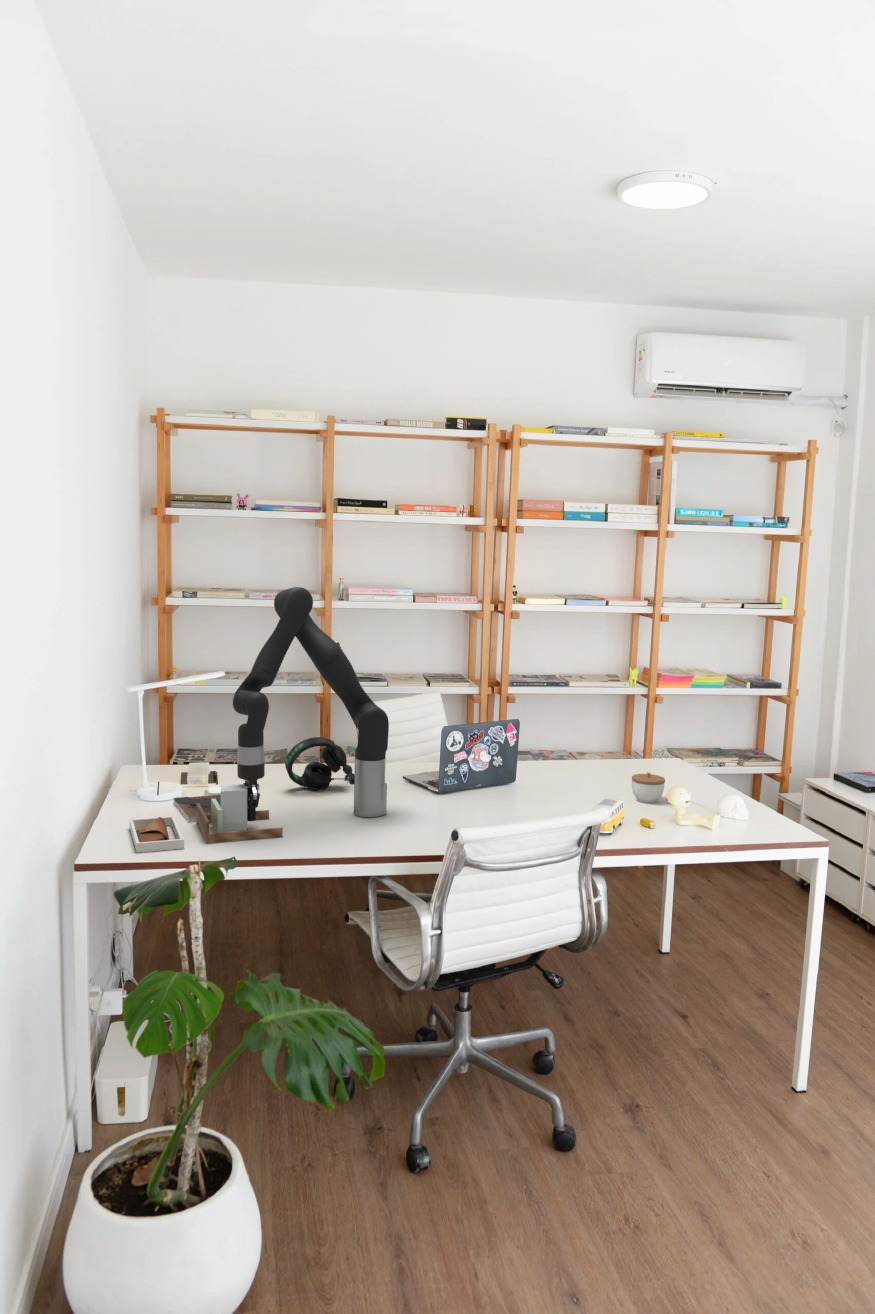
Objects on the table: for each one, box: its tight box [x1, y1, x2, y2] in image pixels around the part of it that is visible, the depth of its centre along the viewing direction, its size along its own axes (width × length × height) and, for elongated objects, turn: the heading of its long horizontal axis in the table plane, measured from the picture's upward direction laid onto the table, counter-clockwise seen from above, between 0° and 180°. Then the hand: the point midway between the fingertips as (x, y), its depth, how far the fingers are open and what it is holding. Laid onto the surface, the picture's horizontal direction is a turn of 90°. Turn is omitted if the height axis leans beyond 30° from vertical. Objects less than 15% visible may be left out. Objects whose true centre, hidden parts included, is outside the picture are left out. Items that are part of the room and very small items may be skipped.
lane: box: [195, 803, 284, 844], centre depth 272 cm, size 21×19×6 cm
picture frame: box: [173, 793, 221, 824], centre depth 291 cm, size 16×2×22 cm
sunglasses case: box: [136, 816, 170, 842], centre depth 262 cm, size 18×7×7 cm, turn 20°
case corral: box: [129, 815, 185, 854], centre depth 262 cm, size 12×22×2 cm, turn 22°
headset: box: [284, 736, 355, 792], centre depth 320 cm, size 18×14×29 cm
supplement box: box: [220, 783, 248, 832], centre depth 270 cm, size 7×7×13 cm
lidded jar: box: [631, 772, 666, 804], centre depth 318 cm, size 11×11×9 cm
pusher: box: [210, 799, 222, 833], centre depth 269 cm, size 1×12×8 cm, turn 22°
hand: (251, 820), depth 273 cm, fingers closed
